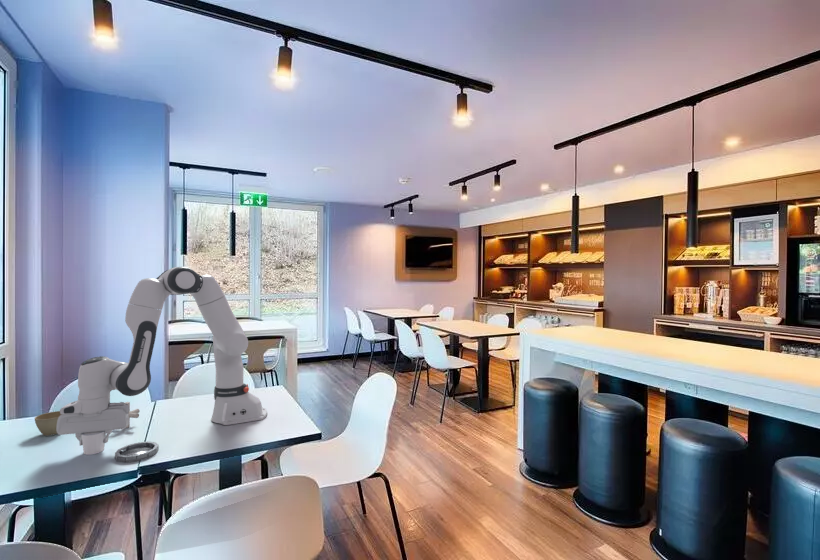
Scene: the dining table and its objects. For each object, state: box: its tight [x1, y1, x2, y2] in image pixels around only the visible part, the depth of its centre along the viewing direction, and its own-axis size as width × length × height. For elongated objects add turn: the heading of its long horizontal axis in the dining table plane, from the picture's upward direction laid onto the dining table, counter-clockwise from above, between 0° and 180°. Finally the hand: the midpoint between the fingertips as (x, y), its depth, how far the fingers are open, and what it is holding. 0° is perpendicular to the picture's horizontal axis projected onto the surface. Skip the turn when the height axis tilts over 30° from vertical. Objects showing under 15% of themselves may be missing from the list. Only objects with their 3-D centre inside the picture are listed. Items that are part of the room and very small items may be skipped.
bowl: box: [114, 441, 160, 463], centre depth 137 cm, size 12×12×2 cm
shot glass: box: [82, 431, 107, 456], centre depth 139 cm, size 7×7×7 cm
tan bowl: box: [34, 410, 62, 437], centre depth 153 cm, size 10×10×7 cm
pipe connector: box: [124, 401, 140, 429], centre depth 160 cm, size 10×10×10 cm
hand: (94, 443), depth 139 cm, fingers closed on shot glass, 5 cm apart
